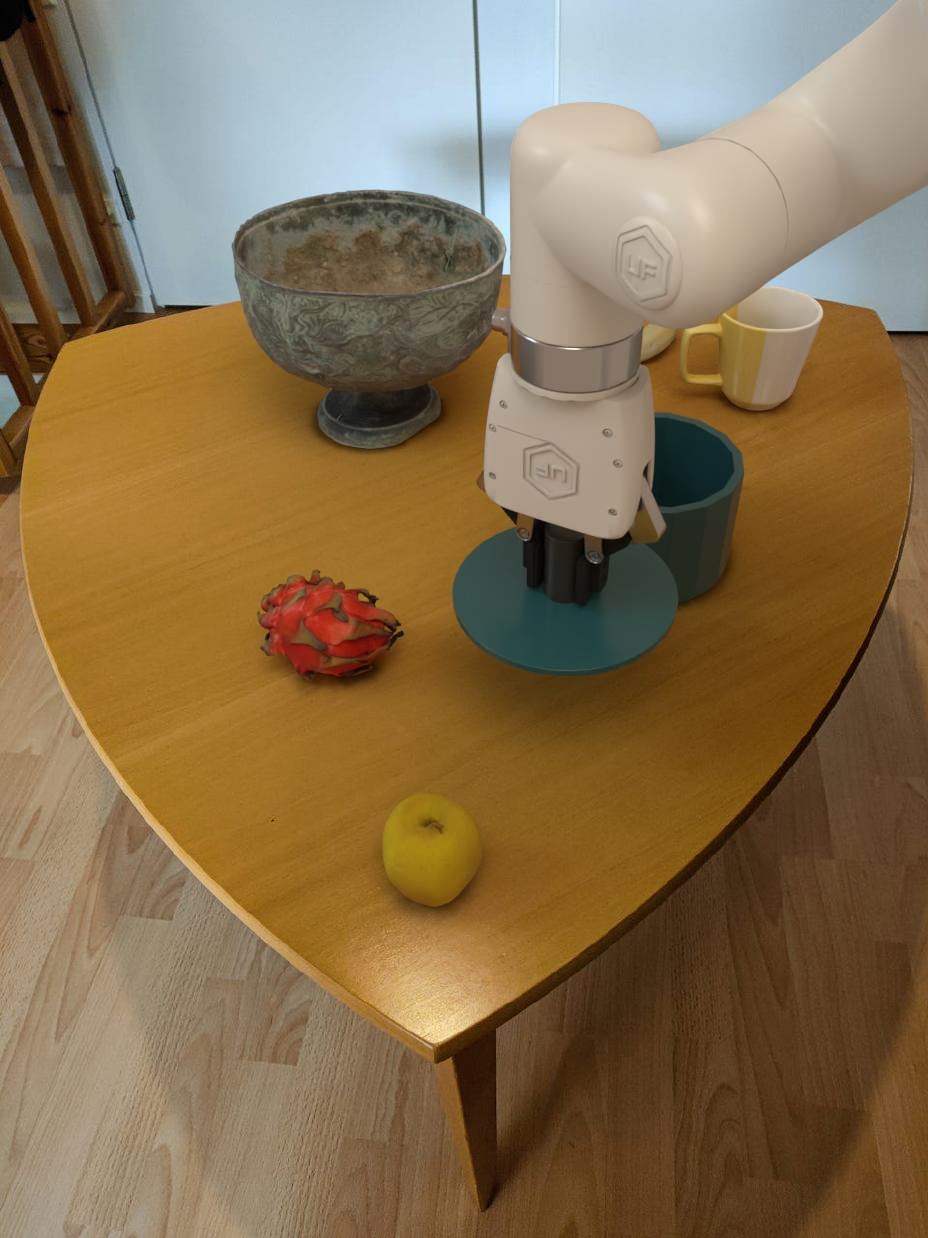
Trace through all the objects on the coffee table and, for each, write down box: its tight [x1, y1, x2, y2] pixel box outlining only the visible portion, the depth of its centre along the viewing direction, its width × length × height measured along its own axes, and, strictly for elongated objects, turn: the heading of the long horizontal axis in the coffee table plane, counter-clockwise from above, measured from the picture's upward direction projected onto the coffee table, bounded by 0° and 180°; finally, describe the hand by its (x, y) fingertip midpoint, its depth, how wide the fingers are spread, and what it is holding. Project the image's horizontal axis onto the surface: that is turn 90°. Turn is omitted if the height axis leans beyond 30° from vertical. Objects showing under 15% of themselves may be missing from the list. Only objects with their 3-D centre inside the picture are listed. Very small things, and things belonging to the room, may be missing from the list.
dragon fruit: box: [256, 569, 405, 682], centre depth 79 cm, size 8×8×12 cm
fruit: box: [640, 322, 678, 363], centre depth 114 cm, size 7×15×3 cm, turn 119°
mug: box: [678, 285, 824, 412], centre depth 104 cm, size 14×10×10 cm
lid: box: [451, 522, 679, 678], centre depth 69 cm, size 16×16×7 cm
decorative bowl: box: [231, 189, 508, 450], centre depth 102 cm, size 26×26×20 cm
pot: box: [645, 411, 745, 604], centre depth 86 cm, size 15×15×10 cm
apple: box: [381, 791, 483, 908], centre depth 63 cm, size 6×6×8 cm
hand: (564, 582), depth 70 cm, fingers closed on lid, 3 cm apart
